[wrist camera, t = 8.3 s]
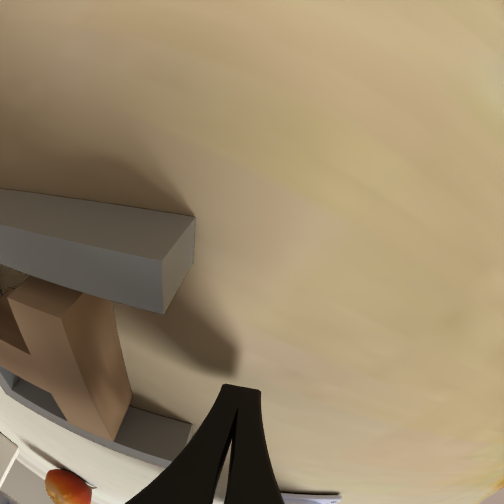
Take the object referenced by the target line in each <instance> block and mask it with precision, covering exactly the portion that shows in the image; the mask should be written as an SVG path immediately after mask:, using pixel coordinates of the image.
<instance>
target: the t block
mask: <svg viewBox="0 0 504 504" xmlns="http://www.w3.org/2000/svg"><path fill="white" fill-rule="evenodd" d="M0 366H2V367H3V368H5V369H7V370H8V371H10V372H12V373H13V374H15V375H17V376H19V377H20V378H22V379H24V380H26V381H28V382H30V383H32V384H33V385H35V386H37V387H39V388H41V389H43V390H45V391H47V392H49V393H51V394H52V396H53V398H54V399H55V401H56V403H57V404H58V406H59V408H60V409H61V411H62V413H63V414H64V416H65V417H66V419H67V421H68V422H69V424H71V425H73V426H75V427H78V428H80V429H82V430H84V431H87V432H89V433H92V434H94V435H96V436H99V437H101V438H104V439H107V440H109V441H112V442H113V441H114V439H115V437H116V434H117V432H118V430H119V427H120V425H121V423H122V420H123V418H124V416H125V413H126V411H127V409H128V407H129V404H130V402H131V400H132V398H133V395H132V391H131V388H130V384H129V380H128V376H127V372H126V368H125V364H124V360H123V355H122V351H121V346H120V342H119V337H118V332H117V327H116V322H115V316H114V311H113V305H112V301H110V300H107V299H103V298H100V297H96V296H93V295H90V294H86V293H83V292H80V291H77V290H74V289H70V288H67V287H64V286H61V285H58V284H55V283H52V282H49V281H46V280H43V279H40V278H37V277H34V276H32V275H30V276H29V277H28V278H27V279H26V280H25V281H24V282H22V283H21V284H20V285H19V286H18V287H17V288H16V289H13V288H10V289H9V290H8V291H7V292H6V293H5V294H4V295H3V296H1V297H0Z"/></svg>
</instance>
